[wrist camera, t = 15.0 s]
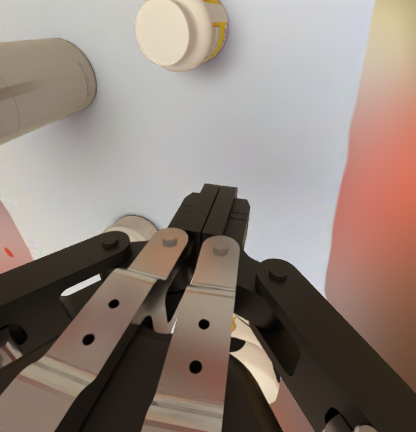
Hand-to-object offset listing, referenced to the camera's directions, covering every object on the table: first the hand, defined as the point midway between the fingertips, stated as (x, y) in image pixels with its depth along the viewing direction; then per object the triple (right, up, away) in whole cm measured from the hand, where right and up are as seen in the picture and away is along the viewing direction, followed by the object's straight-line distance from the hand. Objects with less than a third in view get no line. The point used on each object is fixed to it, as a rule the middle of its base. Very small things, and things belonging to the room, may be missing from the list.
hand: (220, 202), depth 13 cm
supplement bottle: (-1, +21, +19) cm, 29 cm away
